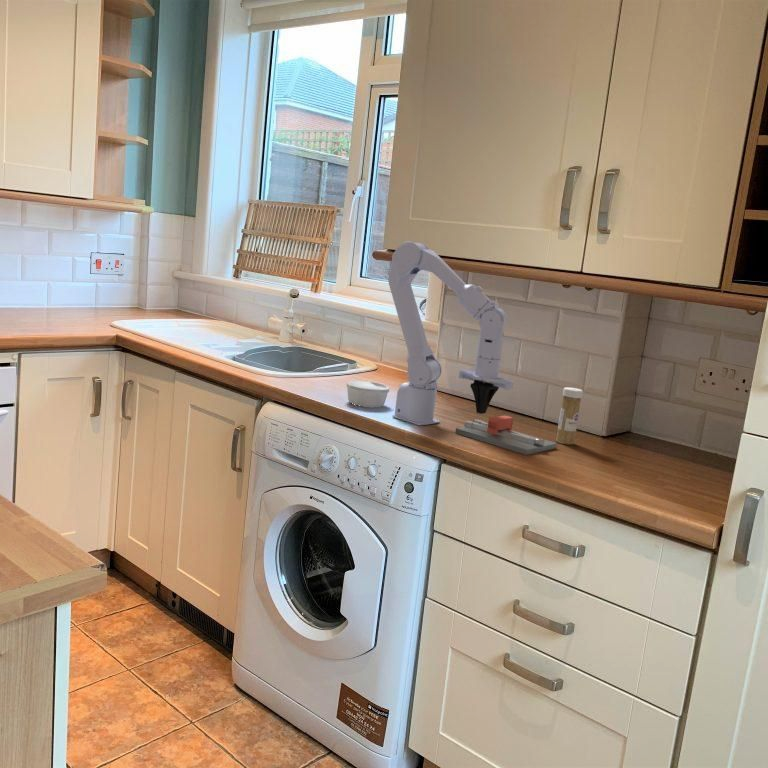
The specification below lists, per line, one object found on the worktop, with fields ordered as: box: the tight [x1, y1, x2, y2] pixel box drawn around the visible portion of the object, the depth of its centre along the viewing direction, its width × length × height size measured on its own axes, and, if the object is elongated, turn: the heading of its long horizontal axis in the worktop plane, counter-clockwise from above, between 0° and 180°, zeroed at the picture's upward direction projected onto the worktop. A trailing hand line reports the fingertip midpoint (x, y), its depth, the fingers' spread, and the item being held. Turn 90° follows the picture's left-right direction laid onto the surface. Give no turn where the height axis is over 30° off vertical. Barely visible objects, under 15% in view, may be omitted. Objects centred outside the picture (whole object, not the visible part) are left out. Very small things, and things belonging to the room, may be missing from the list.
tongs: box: [463, 419, 545, 447], centre depth 191 cm, size 21×5×1 cm, turn 48°
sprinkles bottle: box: [555, 386, 584, 445], centre depth 195 cm, size 5×5×14 cm
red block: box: [487, 415, 514, 435], centre depth 192 cm, size 2×7×4 cm, turn 138°
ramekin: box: [346, 380, 390, 408], centre depth 214 cm, size 11×11×5 cm
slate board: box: [455, 426, 558, 456], centre depth 191 cm, size 20×13×1 cm, turn 48°
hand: (481, 412), depth 196 cm, fingers closed
